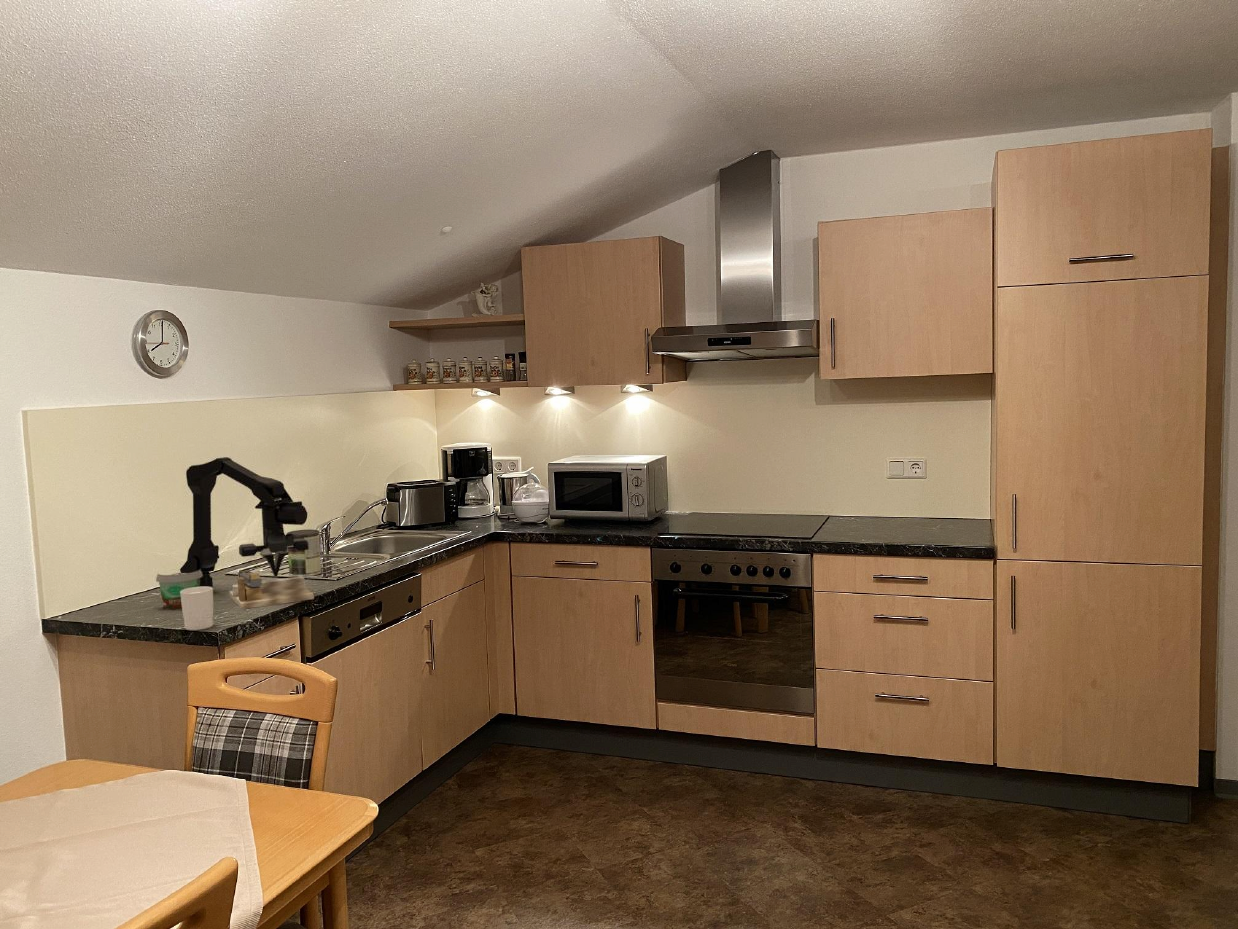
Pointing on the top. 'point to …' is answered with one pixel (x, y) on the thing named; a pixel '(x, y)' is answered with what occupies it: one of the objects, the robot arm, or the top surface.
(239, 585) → the wooden base tray
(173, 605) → the food container
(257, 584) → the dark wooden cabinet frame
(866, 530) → the top surface
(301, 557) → the coffee can
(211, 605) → the white cup
